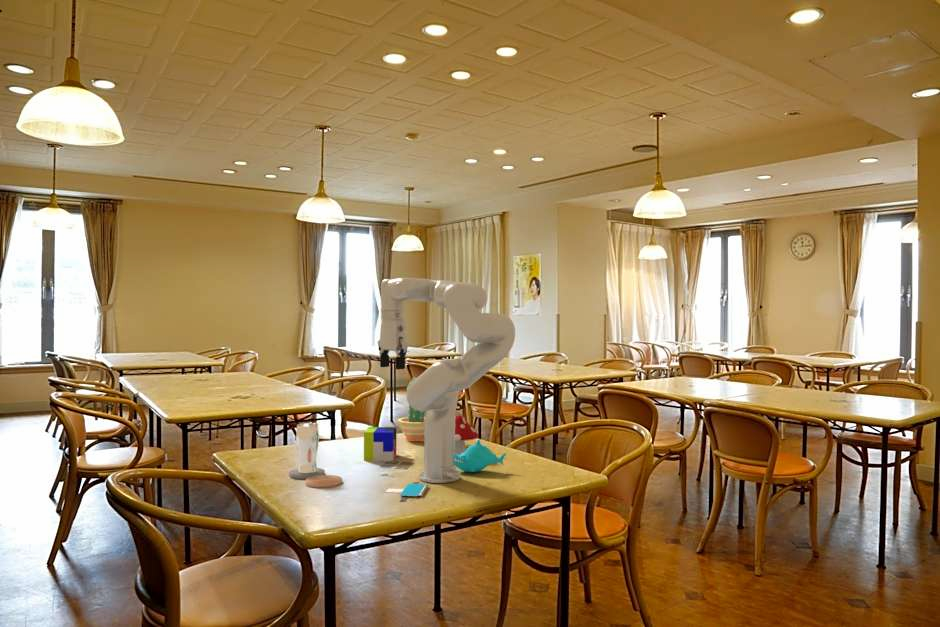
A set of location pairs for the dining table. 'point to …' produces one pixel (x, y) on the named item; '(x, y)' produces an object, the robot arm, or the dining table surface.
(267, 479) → the dining table surface
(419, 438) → the potted cactus
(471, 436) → the decorative mushroom
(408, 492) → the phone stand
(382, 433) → the puzzle toy
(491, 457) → the toy shark
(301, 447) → the beer glass
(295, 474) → the slate coaster
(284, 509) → the dining table surface
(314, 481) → the terracotta coaster
